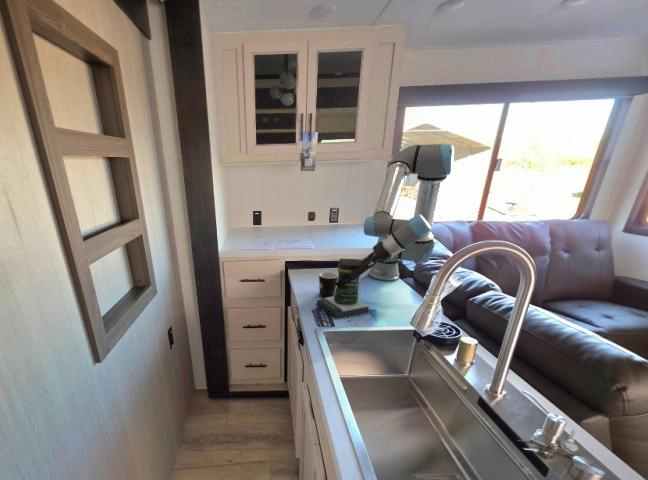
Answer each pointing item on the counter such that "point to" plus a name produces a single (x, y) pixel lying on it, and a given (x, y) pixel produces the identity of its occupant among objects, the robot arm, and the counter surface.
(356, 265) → the coffee jar
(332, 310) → the kitchen scale
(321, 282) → the coffee mug
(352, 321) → the counter surface
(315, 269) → the counter surface
